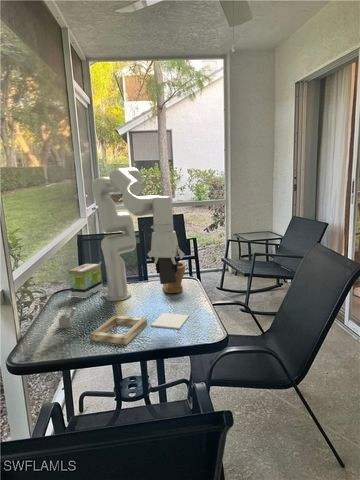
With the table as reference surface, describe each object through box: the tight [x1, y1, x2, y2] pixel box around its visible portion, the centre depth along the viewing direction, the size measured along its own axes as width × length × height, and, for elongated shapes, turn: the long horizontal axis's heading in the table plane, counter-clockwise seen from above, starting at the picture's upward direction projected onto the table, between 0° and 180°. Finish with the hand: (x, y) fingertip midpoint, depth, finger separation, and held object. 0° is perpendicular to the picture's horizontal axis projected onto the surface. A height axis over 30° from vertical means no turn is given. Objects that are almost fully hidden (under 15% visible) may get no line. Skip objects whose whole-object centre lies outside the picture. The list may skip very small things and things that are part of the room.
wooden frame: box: [89, 315, 148, 345], centre depth 128 cm, size 15×17×2 cm
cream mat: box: [150, 312, 190, 330], centre depth 135 cm, size 12×12×1 cm
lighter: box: [58, 306, 77, 329], centre depth 136 cm, size 7×2×8 cm, turn 100°
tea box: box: [68, 263, 103, 298], centre depth 175 cm, size 15×10×15 cm, turn 160°
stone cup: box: [162, 261, 186, 294], centre depth 172 cm, size 15×12×15 cm
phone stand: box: [158, 258, 176, 285], centre depth 130 cm, size 9×6×12 cm, turn 6°
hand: (167, 272), depth 131 cm, fingers closed on phone stand, 6 cm apart
